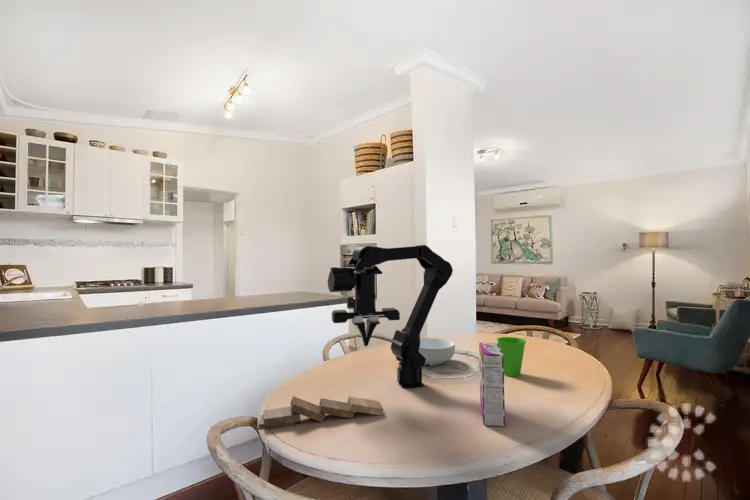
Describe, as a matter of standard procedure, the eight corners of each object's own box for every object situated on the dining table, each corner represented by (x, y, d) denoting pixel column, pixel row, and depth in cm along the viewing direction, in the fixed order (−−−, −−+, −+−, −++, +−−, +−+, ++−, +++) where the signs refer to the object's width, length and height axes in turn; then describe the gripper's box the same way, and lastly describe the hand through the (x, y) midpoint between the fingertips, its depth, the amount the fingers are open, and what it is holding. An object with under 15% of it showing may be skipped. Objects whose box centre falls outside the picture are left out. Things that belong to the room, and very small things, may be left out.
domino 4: (352, 403, 96) (320, 398, 95) (354, 411, 91) (321, 406, 90) (350, 410, 96) (319, 404, 95) (352, 418, 91) (319, 412, 90)
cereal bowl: (459, 369, 128) (459, 348, 128) (409, 369, 128) (409, 348, 128) (450, 355, 145) (450, 336, 145) (406, 355, 145) (406, 337, 145)
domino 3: (323, 407, 94) (293, 396, 92) (325, 415, 89) (293, 404, 88) (320, 413, 94) (290, 402, 92) (322, 422, 89) (290, 410, 87)
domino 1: (297, 405, 93) (263, 410, 90) (300, 413, 88) (264, 419, 86) (297, 412, 93) (263, 417, 90) (300, 420, 88) (264, 426, 86)
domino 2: (295, 412, 93) (261, 415, 91) (294, 421, 88) (258, 424, 86) (295, 418, 93) (261, 421, 91) (294, 428, 88) (258, 431, 86)
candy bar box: (479, 406, 97) (478, 341, 97) (499, 408, 96) (498, 342, 96) (482, 426, 86) (481, 353, 86) (505, 428, 85) (504, 354, 85)
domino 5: (378, 401, 98) (348, 396, 96) (383, 408, 93) (351, 404, 91) (377, 407, 97) (347, 402, 96) (381, 415, 93) (349, 410, 91)
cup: (495, 376, 120) (495, 341, 120) (497, 368, 128) (497, 335, 128) (526, 380, 116) (526, 344, 116) (526, 371, 125) (526, 337, 125)
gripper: (390, 287, 118) (390, 337, 118) (329, 288, 114) (330, 341, 114) (400, 290, 107) (400, 346, 107) (333, 292, 103) (333, 350, 103)
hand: (365, 345), depth 108 cm, fingers closed
